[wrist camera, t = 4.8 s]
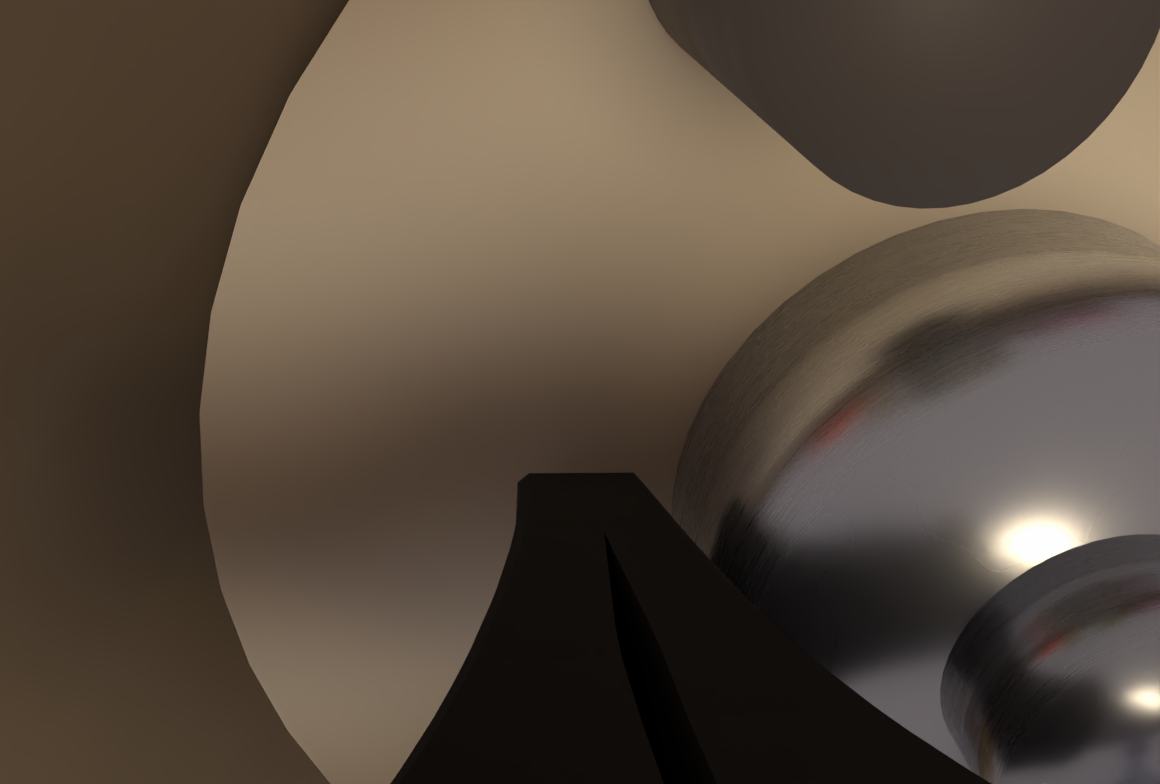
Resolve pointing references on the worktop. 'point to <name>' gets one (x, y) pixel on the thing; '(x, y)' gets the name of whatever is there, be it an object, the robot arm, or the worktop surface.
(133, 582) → the worktop surface
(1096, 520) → the cover
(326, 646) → the turntable
